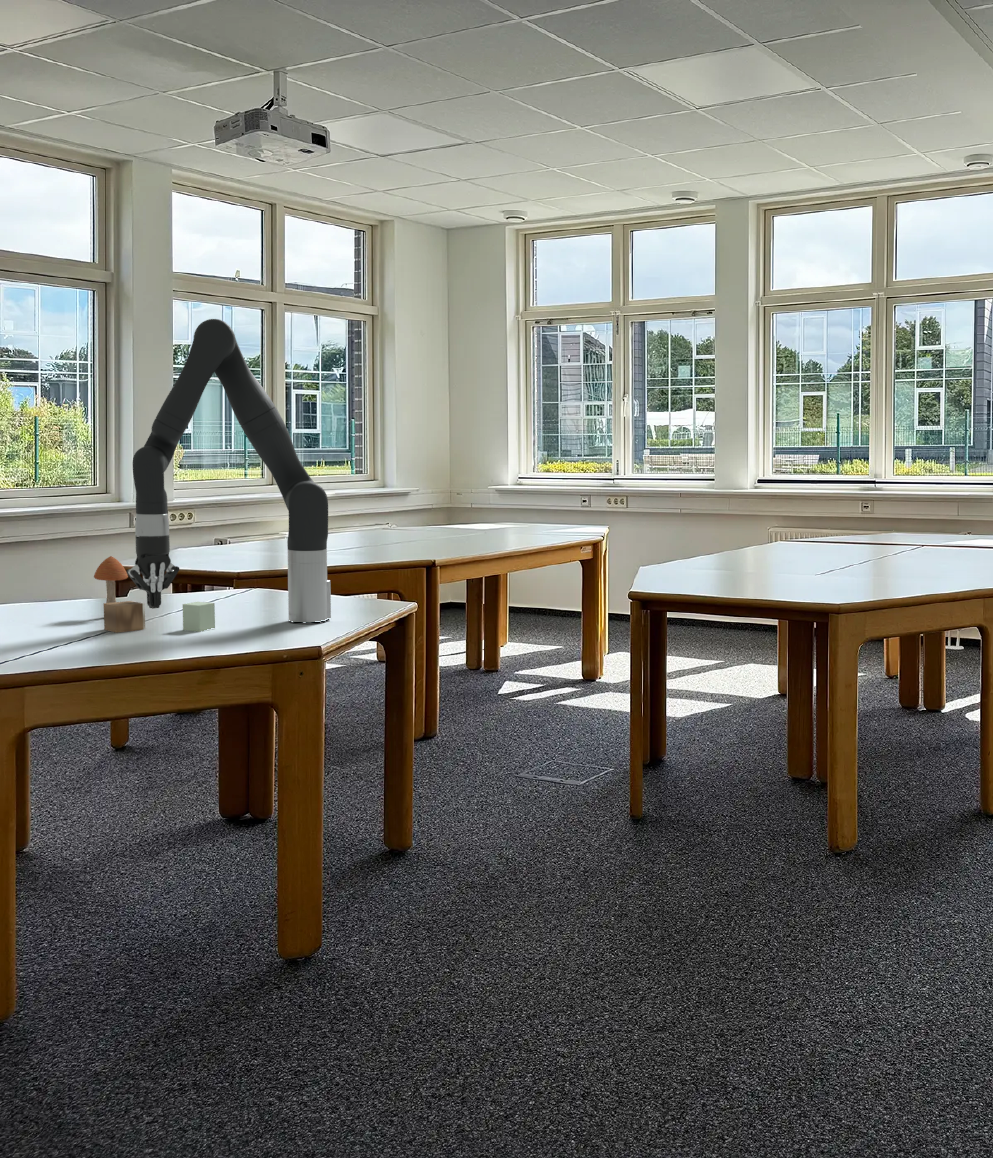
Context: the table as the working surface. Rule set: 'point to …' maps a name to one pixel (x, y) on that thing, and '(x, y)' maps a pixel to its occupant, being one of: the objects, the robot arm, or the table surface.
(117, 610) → the walnut block
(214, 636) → the table surface
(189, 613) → the sage block
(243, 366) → the robot arm
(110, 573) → the mushroom
